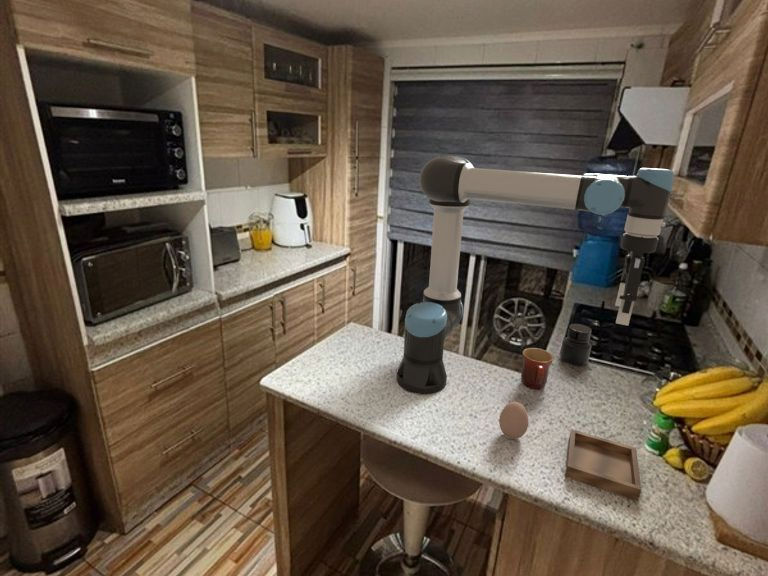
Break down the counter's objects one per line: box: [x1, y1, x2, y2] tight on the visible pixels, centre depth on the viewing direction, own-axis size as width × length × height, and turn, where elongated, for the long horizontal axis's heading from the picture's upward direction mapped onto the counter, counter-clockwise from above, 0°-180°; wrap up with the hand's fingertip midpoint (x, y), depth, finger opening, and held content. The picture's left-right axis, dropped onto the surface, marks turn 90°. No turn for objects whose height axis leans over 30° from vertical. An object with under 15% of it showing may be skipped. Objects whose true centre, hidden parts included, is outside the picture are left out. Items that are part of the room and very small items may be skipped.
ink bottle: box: [559, 323, 592, 367], centre depth 140 cm, size 10×9×12 cm
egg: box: [498, 401, 529, 440], centre depth 102 cm, size 7×7×10 cm
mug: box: [520, 347, 555, 391], centre depth 123 cm, size 12×9×10 cm
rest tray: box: [564, 428, 642, 502], centre depth 94 cm, size 14×14×3 cm
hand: (621, 314), depth 108 cm, fingers open, 13 cm apart
